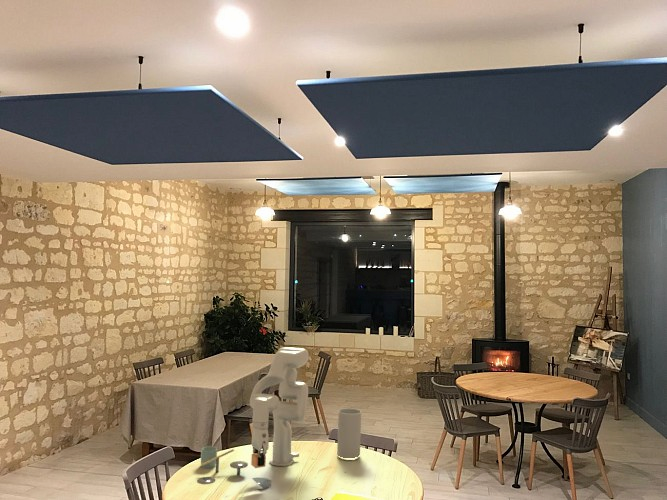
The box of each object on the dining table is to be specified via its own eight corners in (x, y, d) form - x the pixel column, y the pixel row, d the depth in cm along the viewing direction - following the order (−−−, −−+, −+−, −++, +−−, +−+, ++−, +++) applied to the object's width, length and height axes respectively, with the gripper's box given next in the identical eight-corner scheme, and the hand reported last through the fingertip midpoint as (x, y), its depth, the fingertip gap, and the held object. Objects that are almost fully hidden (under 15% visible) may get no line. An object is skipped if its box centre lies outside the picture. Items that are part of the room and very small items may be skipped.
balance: (239, 469, 266) (239, 446, 267) (249, 479, 254) (250, 455, 255) (190, 477, 254) (191, 454, 254) (199, 488, 241) (201, 463, 242)
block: (261, 463, 251) (261, 452, 252) (265, 466, 247) (265, 455, 248) (251, 464, 249) (251, 453, 249) (255, 468, 245) (255, 457, 245)
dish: (264, 478, 256) (264, 475, 256) (274, 487, 246) (275, 484, 246) (241, 482, 250) (241, 480, 250) (250, 492, 240) (251, 489, 240)
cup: (212, 472, 262) (213, 451, 262) (197, 470, 263) (198, 450, 264) (218, 466, 269) (219, 446, 270) (204, 465, 271) (205, 445, 271)
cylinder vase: (362, 460, 285) (363, 413, 287) (339, 461, 283) (341, 414, 284) (356, 453, 298) (357, 408, 299) (334, 453, 295) (336, 408, 296)
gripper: (275, 428, 244) (273, 468, 243) (260, 419, 258) (258, 457, 257) (260, 429, 240) (258, 470, 239) (245, 420, 255) (244, 459, 253)
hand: (258, 463), depth 248 cm, fingers closed on block, 5 cm apart
